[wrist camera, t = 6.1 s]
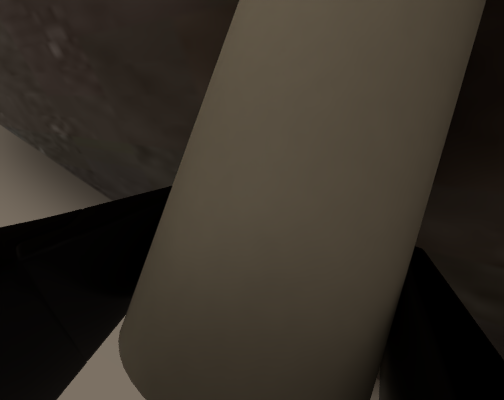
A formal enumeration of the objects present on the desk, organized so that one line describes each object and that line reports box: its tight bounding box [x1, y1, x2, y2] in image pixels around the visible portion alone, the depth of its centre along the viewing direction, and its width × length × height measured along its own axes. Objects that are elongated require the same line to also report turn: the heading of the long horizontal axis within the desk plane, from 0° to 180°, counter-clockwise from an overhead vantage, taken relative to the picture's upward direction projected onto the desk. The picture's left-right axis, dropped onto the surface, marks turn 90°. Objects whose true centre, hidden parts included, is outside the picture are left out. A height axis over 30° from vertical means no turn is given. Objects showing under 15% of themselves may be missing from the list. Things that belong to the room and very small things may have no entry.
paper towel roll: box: [119, 0, 486, 400], centre depth 7 cm, size 6×12×6 cm
